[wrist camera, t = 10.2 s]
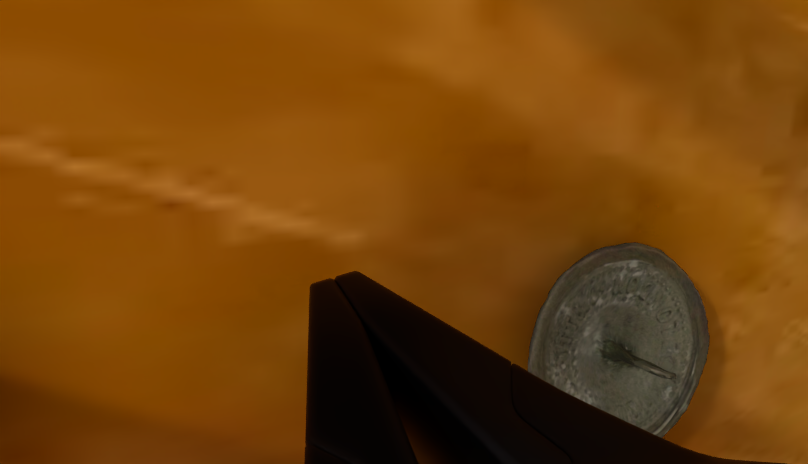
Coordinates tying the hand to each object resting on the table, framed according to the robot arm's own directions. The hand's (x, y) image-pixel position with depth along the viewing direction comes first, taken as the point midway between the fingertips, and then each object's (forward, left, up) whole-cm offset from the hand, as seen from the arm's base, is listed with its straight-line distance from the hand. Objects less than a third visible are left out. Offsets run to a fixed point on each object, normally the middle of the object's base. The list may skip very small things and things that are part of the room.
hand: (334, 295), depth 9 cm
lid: (-18, -2, -12) cm, 22 cm away
